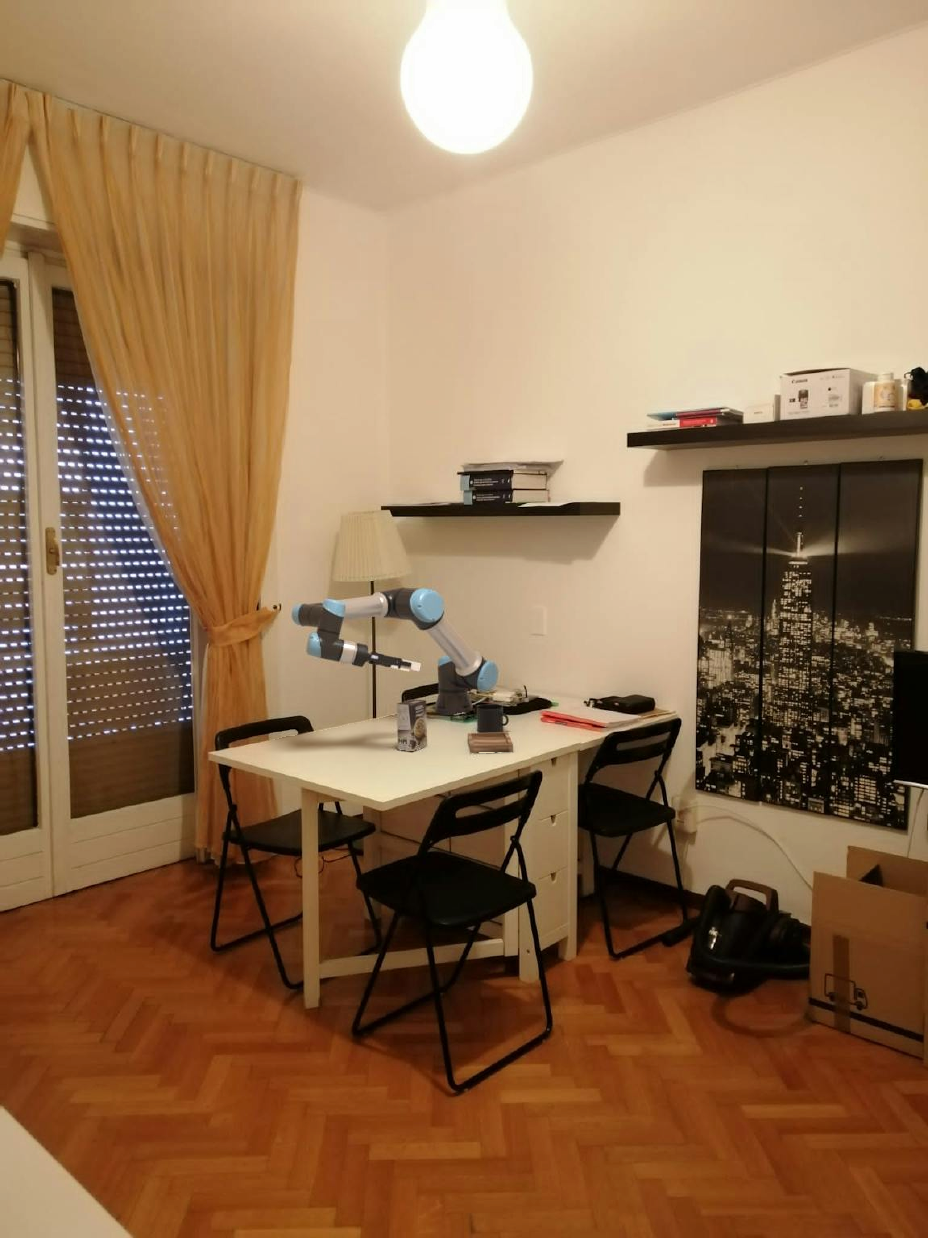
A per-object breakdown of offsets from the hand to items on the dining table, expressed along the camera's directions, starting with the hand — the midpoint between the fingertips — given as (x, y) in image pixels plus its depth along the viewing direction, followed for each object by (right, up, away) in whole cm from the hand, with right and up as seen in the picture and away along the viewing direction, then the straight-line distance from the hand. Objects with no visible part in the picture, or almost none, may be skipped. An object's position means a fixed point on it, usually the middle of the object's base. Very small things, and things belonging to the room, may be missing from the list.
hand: (414, 667), depth 305 cm
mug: (+27, -25, +23) cm, 43 cm away
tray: (+25, -27, +2) cm, 37 cm away
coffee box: (-1, -28, +1) cm, 28 cm away
